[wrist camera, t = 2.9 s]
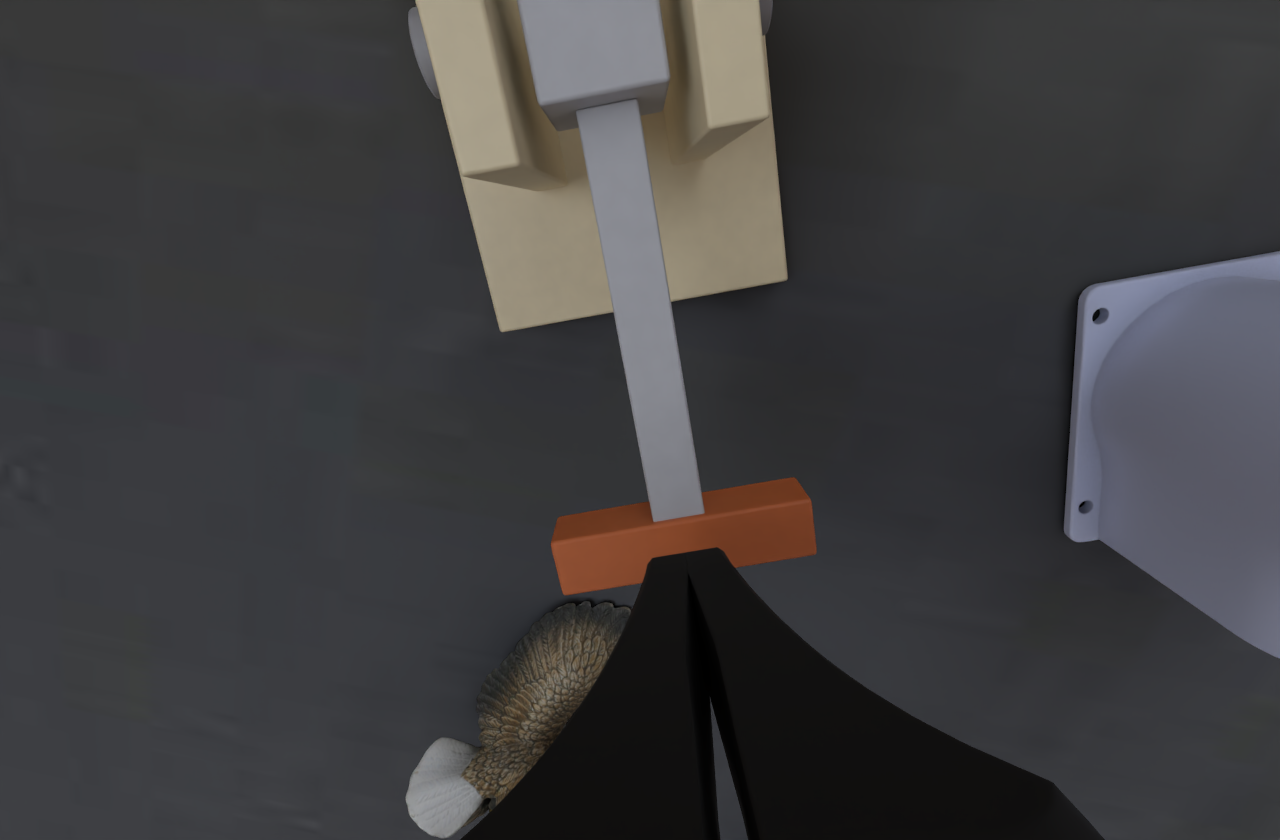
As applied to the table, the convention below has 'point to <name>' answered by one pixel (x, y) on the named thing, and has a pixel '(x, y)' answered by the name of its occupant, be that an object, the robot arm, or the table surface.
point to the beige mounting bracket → (556, 171)
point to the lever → (642, 307)
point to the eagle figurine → (515, 716)
